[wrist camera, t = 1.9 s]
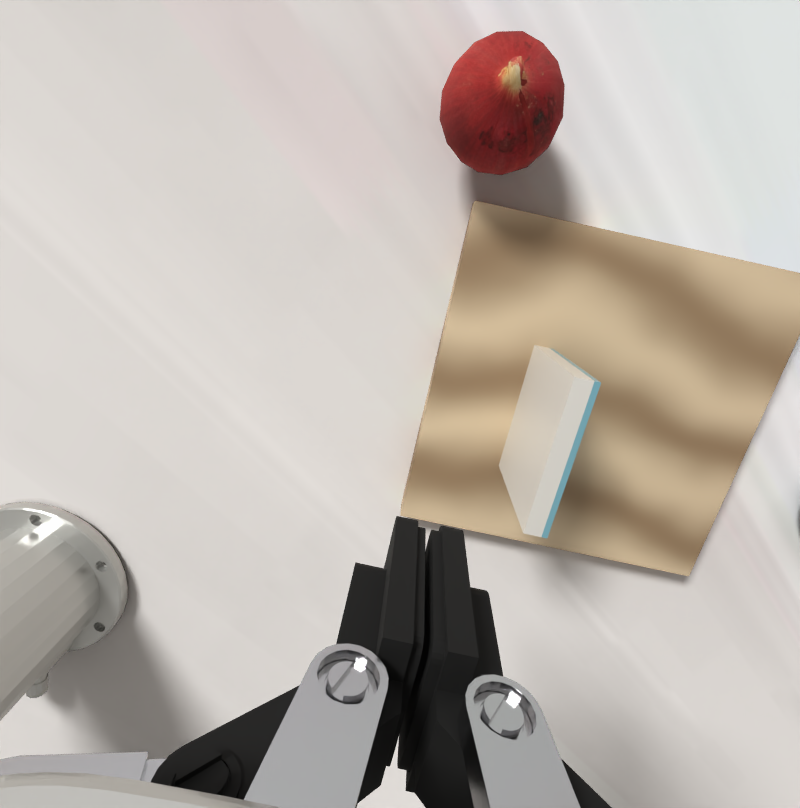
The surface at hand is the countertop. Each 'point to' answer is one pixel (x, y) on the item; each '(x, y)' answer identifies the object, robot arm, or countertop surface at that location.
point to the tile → (545, 436)
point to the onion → (502, 102)
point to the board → (602, 382)
